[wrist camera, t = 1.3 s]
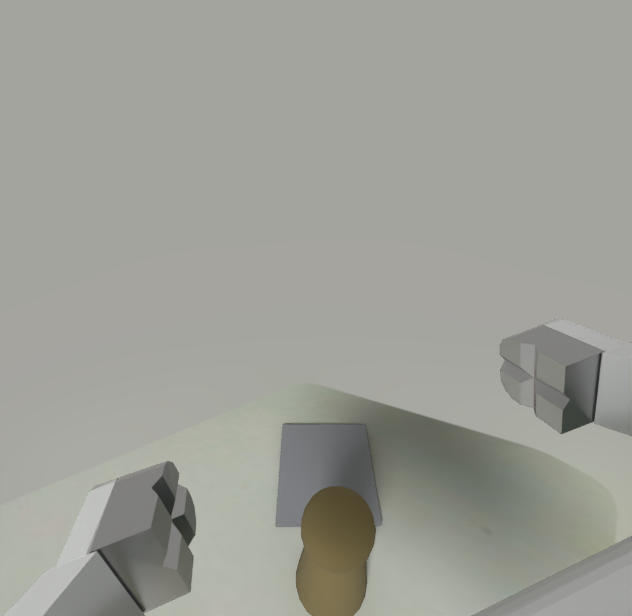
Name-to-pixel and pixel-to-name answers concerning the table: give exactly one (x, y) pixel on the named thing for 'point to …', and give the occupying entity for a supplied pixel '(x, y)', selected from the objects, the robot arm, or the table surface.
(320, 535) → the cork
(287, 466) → the mat
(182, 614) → the table surface
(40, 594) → the robot arm
